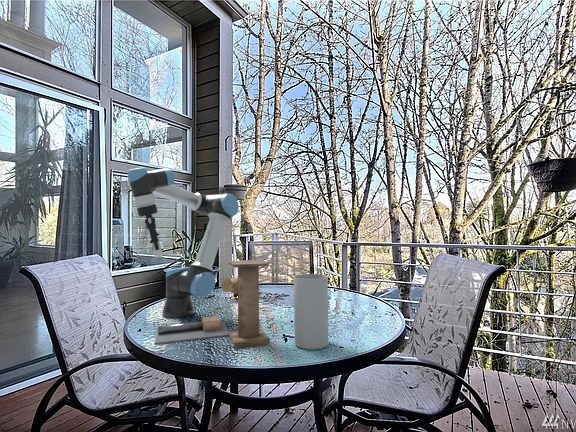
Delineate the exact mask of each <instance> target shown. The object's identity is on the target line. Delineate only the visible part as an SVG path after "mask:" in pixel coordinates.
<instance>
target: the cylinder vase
mask: <svg viewBox="0 0 576 432" xmlns="http://www.w3.org/2000/svg"><path fill="white" fill-rule="evenodd" d="M328 277H329V276H328V275H327V274H326V275H325V274H320V273H318V274H317V273H302V274H297V275H294V276H293V308H294V309H293V313H294V314H293V315H294V316H293V317H294V319H293V322H294V325H293V326H294V329H293V331H294V332H293V333H294V344H295V346H296V347H298V348H299V349H303V350H310V351H311V350H314V351H315V350H320V349H324V348H326V347H327V346H328V345H329V294H328V293H329V288H328V287H329V285H328V284H329V283H328V281H329V280H328V279H329V278H328Z"/></svg>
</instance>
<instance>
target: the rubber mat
mask: <svg viewBox="0 0 576 432" xmlns="http://www.w3.org/2000/svg"><path fill="white" fill-rule="evenodd" d="M195 322H196V321H195ZM195 322H193V323H195ZM185 323H186V322H185ZM185 323H183V324H185ZM175 324H176V323H175ZM175 324H173V325H175ZM165 325H166V324H165ZM165 325H163V326H165ZM158 326H159V325H158ZM158 326H157V328H156V333H155V340H154V345H162V344H170V343H179V342H189V341H196V340H197V341H198V340H203V339H204V340H207V339H213V338H222V337H229V332H230V331H229V330H228V328H227V325H226V324H225V322H224V320H223V319H220V330H212V331H203V329H199V330H190V331H181V332H172V333H163V334H158Z"/></svg>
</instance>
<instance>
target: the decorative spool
mask: <svg viewBox="0 0 576 432" xmlns="http://www.w3.org/2000/svg"><path fill="white" fill-rule="evenodd" d="M220 285H221V287H220V288H221V290H222V291H223V292H225V293H229V292H230V293H231V294H232V298H233V297H237V296H238V277H233V278H231V279H230V278H229V277H228V278H224V279H223V280H222V281H221V284H220Z"/></svg>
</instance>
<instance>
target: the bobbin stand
mask: <svg viewBox="0 0 576 432" xmlns="http://www.w3.org/2000/svg"><path fill="white" fill-rule="evenodd" d="M228 264H229V265H230V266H232V267H233V268H234V269H235V268H237V278H238V298H237V317H238V318H237V325H238V326H237V328H238V329H237V330H234V331H228V332H229V336H228V338H229V339H230V342H231V343H232V346H233V347H234V349H242V348H251V347H257V346H264V345H270V344H271V343H270V341H271V339H270V337H269V336H268V335H267V334H266V333H265V331H264V330H263V329H262V328H260V272H259V271H260V267H269V266H270V262H267V261H265V260H262V259H250V260H249V259H248V260H247V259H246V260H245V259H243V260H228Z"/></svg>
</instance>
